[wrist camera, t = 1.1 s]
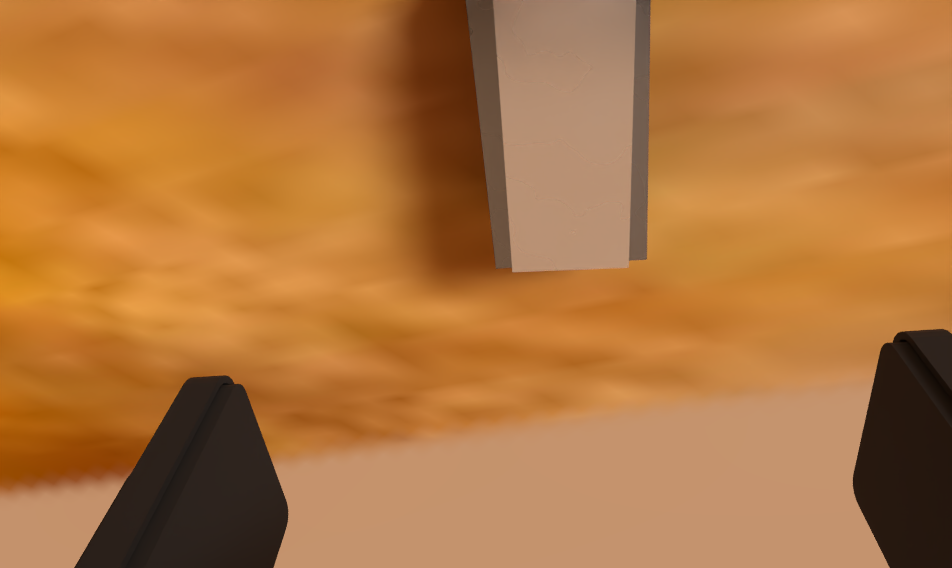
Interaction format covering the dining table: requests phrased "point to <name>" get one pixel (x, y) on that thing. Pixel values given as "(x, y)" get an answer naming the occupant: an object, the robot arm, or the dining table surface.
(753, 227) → the dining table surface
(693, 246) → the dining table surface
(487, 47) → the housing base
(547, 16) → the cover
